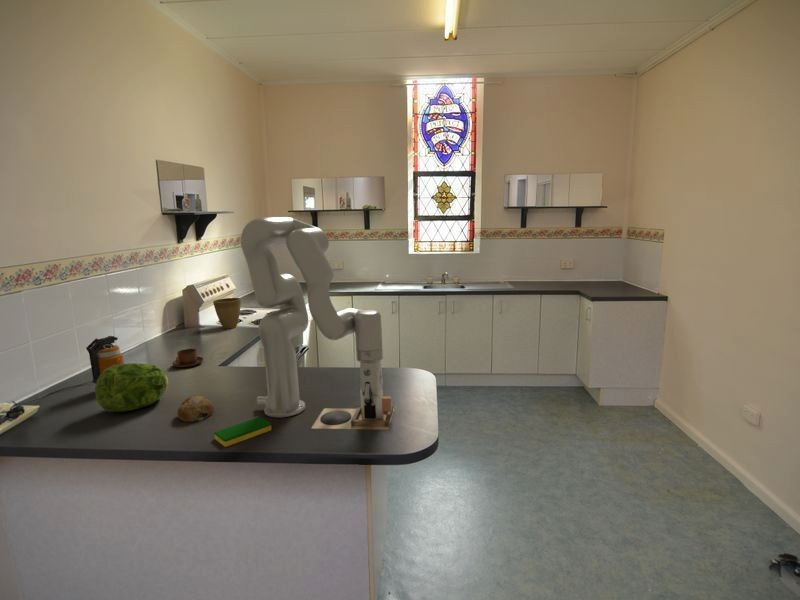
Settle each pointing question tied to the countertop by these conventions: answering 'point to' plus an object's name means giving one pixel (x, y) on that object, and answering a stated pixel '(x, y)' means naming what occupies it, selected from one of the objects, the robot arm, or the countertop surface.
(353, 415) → the jug stand
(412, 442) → the countertop surface
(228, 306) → the plant pot
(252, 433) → the dish sponge
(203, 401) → the bread roll
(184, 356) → the cup and saucer
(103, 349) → the canister
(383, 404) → the jug
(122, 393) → the lettuce
